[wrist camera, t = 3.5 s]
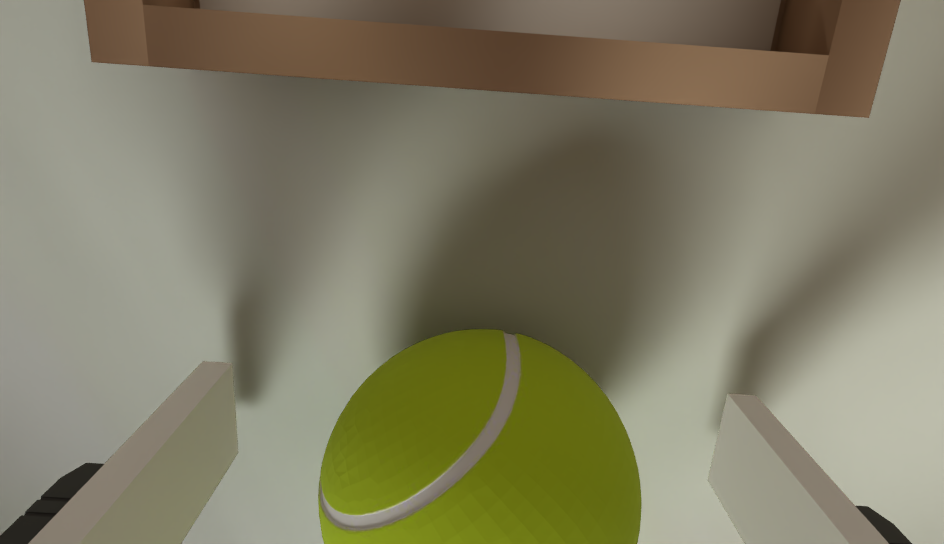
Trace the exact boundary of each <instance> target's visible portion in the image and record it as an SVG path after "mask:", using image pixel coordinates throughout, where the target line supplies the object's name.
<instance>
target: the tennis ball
mask: <svg viewBox="0 0 944 544" xmlns="http://www.w3.org/2000/svg"><path fill="white" fill-rule="evenodd" d="M318 500H319V517H320V524H321V531H322V537H323V541H324V544H637V542H638V536H639V531H640V521H641V489H640V479H639V472H638V467H637V463H636V459H635V455H634V451H633V448H632V445H631V442H630V439H629V437H628V434H627V432H626V429H625V427H624V425H623V423H622V421H621V419H620V417H619V415H618V413H617V412H616V410H615V408H614V407H613V405H612V404H611V402H610V401H609V399H608V398H607V396H606V395H605V394H604V393H603V391H602V390H601V389H600V388H599V386H598V385H597V384H596V383H595V382H594V380H593V379H592V378H591V377H590V376H589V375H588V374H587V373H586V372H585V371H584V370H582V369H581V368H580V367H579V366H578V365H576V364H575V363H574V362H573V361H572V360H570V359H569V358H568V357H566V356H565V355H563V354H562V353H560V352H559V351H557V350H555V349H554V348H552V347H550V346H548V345H546V344H544V343H542V342H540V341H538V340H535V339H533V338H531V337H528V336H525V335H522V334H518V333H516V334H515V335H512V334H507V333H505V331H503V330H495V329H468V330H460V331H453V332H449V333H444V334H441V335H437V336H434V337H431V338H429V339H426V340H423V341H421V342H419V343H416V344H414V345H412V346H410V347H408V348H406V349H404V350H403V351H401V352H400V353H398V354H396V355H395V356H393V357H392V358H390V359H389V360H388V361H387V362H385V363H384V364H383V365H382V366H380V367H379V368H378V369H377V370H376V371H375V372H373V373H372V374H371V375H370V376H369V377H368V378H367V379H366V380H365V382H364V383H363V384H362V385H361V386H360V387H359V388H358V390H357V391H356V392H355V393H354V395H353V396H352V397H351V399H350V401H349V402H348V404H347V405H346V407H345V408H344V410H343V412H342V413H341V415H340V417H339V418H338V420H337V423H336V425H335V427H334V429H333V432H332V434H331V436H330V438H329V441H328V444H327V447H326V451H325V454H324V457H323V462H322V467H321V476H320V481H319V495H318Z"/></svg>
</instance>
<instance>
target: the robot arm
mask: <svg viewBox="0 0 944 544" xmlns="http://www.w3.org/2000/svg"><path fill="white" fill-rule="evenodd" d="M237 454H238V440H237V425H236V410H235V395H234V380H233V364H232V363H224V362H208V361H203V362H202V363H201V364H200V365H199V366H198V367H197V368H196V369H195V370H194V371H193V372H192V373H191V374H190V375H189V376H188V377H187V378H186V379H185V380H184V382H183V383H182V384H181V385H180V386H179V387H178V388H177V389H176V390H175V391H174V392H173V393H172V394H171V395H170V396H169V397H168V398H167V399H166V400H165V401H164V402H163V403H162V404H161V406H160V407H159V408H158V409H157V410H156V411H155V412H154V413H153V414H152V415H151V416H150V417H149V418H148V419H147V420H146V421H145V422H144V423H143V424H142V425H141V426H140V427H139V428H138V430H137V431H136V432H135V433H134V434H133V435H132V436H131V437H130V438H129V439H128V440H127V441H126V442H125V443H124V444H123V445H122V446H121V447H120V448H119V449H118V450H117V451H116V452H115V454H114V455H113V456H112V457H111V458H110V459H109V460H108V461H107V462H106V463H105V464H96V463H85V464H84V465H82V466H80V467H78V468H77V469H75V470H73V471H72V472H70V473H68V474H66V475H65V476H63V477H61V478H60V479H59V480H58V481H57V482H56V483H55V484H54V485H53V486H51V487H50V488H49V489H48V490H47V491H46V492H45V493H44V494H43V495H42V496H41V499H40V500H37V501H36V502H35V503H34V504H33V505H32V506H31V507H30V508H29V509H28V510H27V511H26V512H25V515H24V516H20V517H19V518H18V519H17V520H16V521H15V522H14V523H13V524H12V525H11V526H10V527H9V528H8V529H7V530H6V531H5V532H4V533H3V534H2V535H1V536H0V544H181V543H182V541H183V540H184V538H185V537H186V535H187V533H188V532H189V530H190V529H191V527H192V525H193V524H194V522H195V521H196V519H197V518H198V516H199V514H200V513H201V511H202V510H203V508H204V506H205V505H206V503H207V502H208V500H209V498H210V497H211V495H212V494H213V492H214V490H215V489H216V487H217V486H218V484H219V482H220V481H221V479H222V478H223V476H224V475H225V473H226V471H227V470H228V468H229V467H230V465H231V463H232V462H233V460H234V459H235V457H236V455H237ZM708 482H709V484H710V485H711V487H712V489H713V490H714V492H715V494H716V495H717V497H718V499H719V501H720V502H721V504H722V506H723V507H724V509H725V511H726V513H727V514H728V516H729V518H730V519H731V521H732V523H733V524H734V526H735V528H736V530H737V531H738V533H739V535H740V536H741V538H742V540H743V541H744V543H745V544H912V543H911V542H910V541H909V540H908V539H907V538H906V537H905V536H904V535H903V534H902V533H901V532H900V531H899V529H898V528H897V527H896V526H895V525H894V524H892V523H891V522H890V521H888V520H887V519H885V518H884V517H882V516H881V515H879V514H878V513H877V512H875V511H874V510H872V509H871V508H869V507H867V506H855V505H854V504H853V503H852V502H851V501H850V500H849V498H848V497H847V496H846V495H845V494H844V493H843V492H842V491H841V490H840V488H839V487H838V486H837V485H836V484H835V483H834V482H833V481H832V480H831V478H830V477H829V476H828V475H827V474H826V473H825V472H824V471H823V469H822V468H821V467H820V466H819V465H818V464H817V463H816V462H815V461H814V459H813V458H812V457H811V456H810V455H809V454H808V453H807V452H806V451H805V449H804V448H803V447H802V446H801V445H800V444H799V443H798V442H797V441H796V439H795V438H794V437H793V436H792V435H791V434H790V433H789V432H788V431H787V429H786V428H785V427H784V426H783V425H782V424H781V423H780V422H779V421H778V419H777V418H776V417H775V416H774V415H773V414H772V413H771V412H770V410H769V409H768V408H767V407H766V406H765V405H764V404H763V403H762V402H761V400H760V399H759V398H758V397H757V396H756V395H744V394H728V393H727V397H726V402H725V406H724V410H723V415H722V419H721V423H720V428H719V432H718V436H717V441H716V445H715V449H714V454H713V458H712V462H711V467H710V471H709V475H708Z"/></svg>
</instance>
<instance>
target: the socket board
mask: <svg viewBox="0 0 944 544" xmlns="http://www.w3.org/2000/svg"><path fill="white" fill-rule="evenodd" d="M900 1H901V0H84V5H85V12H86V20H87V28H88V36H89V44H90V52H91V60H92V62H98V63H112V64H126V65H140V66H154V67H168V68H182V69H196V70H210V71H224V72H238V73H252V74H266V75H280V76H294V77H308V78H322V79H336V80H350V81H364V82H377V83H391V84H405V85H419V86H433V87H447V88H461V89H475V90H489V91H503V92H517V93H531V94H545V95H559V96H573V97H587V98H601V99H615V100H629V101H643V102H656V103H670V104H684V105H698V106H712V107H726V108H740V109H754V110H768V111H782V112H796V113H810V114H824V115H838V116H852V117H866V118H869V115H870V112H871V108H872V104H873V101H874V97H875V93H876V90H877V86H878V82H879V79H880V75H881V71H882V67H883V64H884V60H885V56H886V53H887V49H888V45H889V42H890V38H891V34H892V31H893V27H894V23H895V20H896V16H897V12H898V8H899V5H900Z"/></svg>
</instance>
